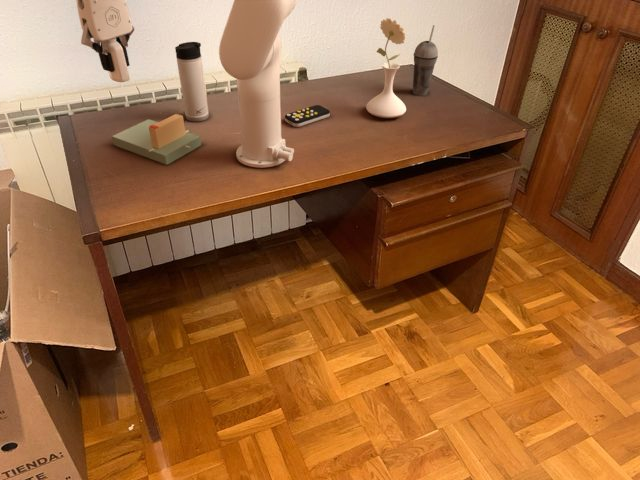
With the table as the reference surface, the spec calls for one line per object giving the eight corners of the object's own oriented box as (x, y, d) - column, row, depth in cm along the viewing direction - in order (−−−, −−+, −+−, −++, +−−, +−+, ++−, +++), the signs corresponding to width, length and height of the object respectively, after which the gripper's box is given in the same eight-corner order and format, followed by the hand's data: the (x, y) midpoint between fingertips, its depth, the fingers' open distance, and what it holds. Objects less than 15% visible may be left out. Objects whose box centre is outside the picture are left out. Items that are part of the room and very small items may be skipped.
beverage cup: (404, 89, 155) (413, 22, 143) (425, 87, 157) (435, 21, 145) (414, 98, 150) (424, 29, 137) (435, 96, 152) (447, 28, 139)
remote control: (332, 116, 138) (332, 110, 137) (296, 128, 131) (296, 121, 130) (318, 109, 142) (318, 103, 140) (282, 120, 135) (282, 114, 134)
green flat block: (209, 146, 123) (208, 136, 121) (171, 168, 114) (169, 158, 112) (151, 126, 130) (150, 117, 129) (112, 146, 122) (109, 136, 120)
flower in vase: (412, 118, 138) (426, 25, 123) (376, 124, 135) (386, 29, 119) (390, 101, 148) (401, 12, 132) (356, 106, 144) (363, 15, 129)
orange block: (179, 132, 123) (175, 112, 119) (185, 134, 122) (182, 114, 118) (152, 146, 117) (148, 126, 113) (159, 149, 116) (154, 128, 112)
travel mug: (205, 123, 133) (194, 47, 121) (182, 120, 134) (169, 45, 122) (213, 113, 138) (204, 40, 125) (191, 111, 139) (180, 38, 126)
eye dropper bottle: (110, 84, 111) (96, 29, 104) (109, 76, 116) (96, 22, 108) (130, 82, 113) (117, 27, 105) (129, 74, 117) (116, 20, 109)
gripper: (72, -12, 94) (98, 82, 106) (138, -26, 105) (155, 60, 117) (47, -17, 97) (75, 75, 109) (114, -29, 108) (133, 55, 120)
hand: (116, 67), depth 113 cm, fingers closed on eye dropper bottle, 3 cm apart
